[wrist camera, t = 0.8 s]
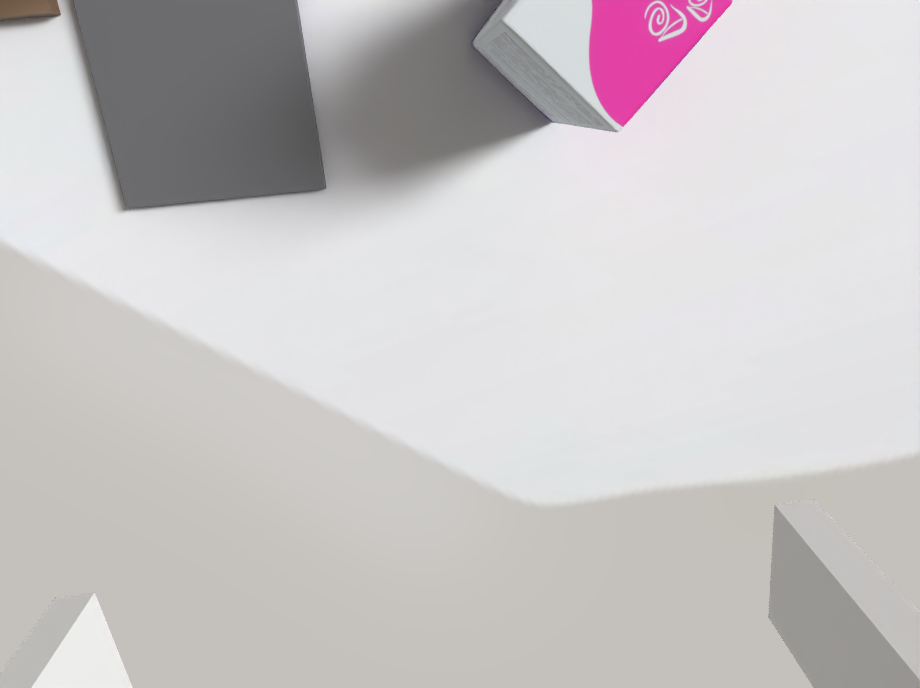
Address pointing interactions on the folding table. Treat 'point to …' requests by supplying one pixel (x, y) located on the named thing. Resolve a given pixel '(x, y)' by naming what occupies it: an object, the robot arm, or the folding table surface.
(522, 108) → the folding table surface
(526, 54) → the supplement box
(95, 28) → the mat
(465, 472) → the folding table surface
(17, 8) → the wooden picture frame
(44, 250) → the folding table surface
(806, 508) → the robot arm
